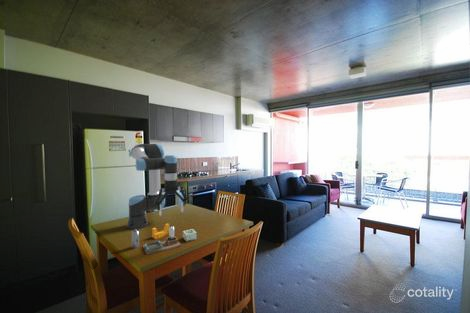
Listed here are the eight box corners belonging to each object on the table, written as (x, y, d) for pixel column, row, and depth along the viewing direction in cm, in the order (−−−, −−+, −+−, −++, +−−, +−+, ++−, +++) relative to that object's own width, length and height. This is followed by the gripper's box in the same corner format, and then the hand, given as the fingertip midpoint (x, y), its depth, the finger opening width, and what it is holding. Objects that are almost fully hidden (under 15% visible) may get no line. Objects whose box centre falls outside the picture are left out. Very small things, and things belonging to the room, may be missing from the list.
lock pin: (168, 242, 132) (168, 226, 132) (173, 241, 134) (173, 225, 134) (170, 244, 130) (169, 228, 129) (175, 243, 131) (174, 227, 131)
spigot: (131, 246, 129) (131, 229, 128) (138, 245, 131) (138, 228, 130) (132, 249, 125) (132, 231, 125) (139, 247, 127) (139, 230, 127)
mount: (143, 246, 128) (143, 241, 128) (175, 239, 139) (175, 234, 139) (146, 255, 118) (146, 249, 118) (181, 246, 129) (181, 240, 129)
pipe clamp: (155, 239, 139) (155, 229, 139) (152, 237, 142) (152, 228, 142) (171, 233, 149) (170, 224, 149) (167, 232, 152) (167, 223, 151)
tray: (182, 237, 141) (182, 231, 141) (192, 235, 145) (192, 229, 145) (186, 241, 135) (186, 234, 135) (196, 239, 139) (196, 232, 139)
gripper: (151, 182, 121) (151, 218, 121) (192, 178, 134) (192, 211, 135) (148, 180, 127) (149, 215, 127) (188, 177, 140) (188, 208, 141)
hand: (171, 213), depth 131 cm, fingers open, 13 cm apart
